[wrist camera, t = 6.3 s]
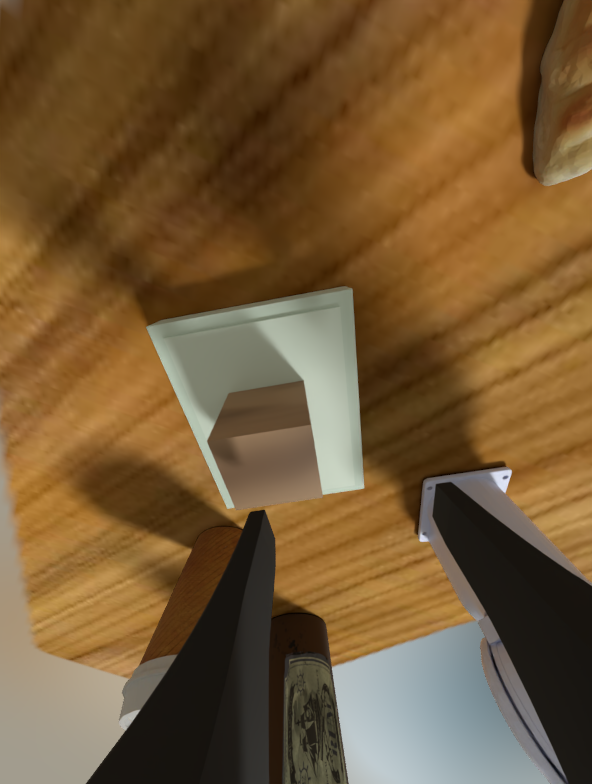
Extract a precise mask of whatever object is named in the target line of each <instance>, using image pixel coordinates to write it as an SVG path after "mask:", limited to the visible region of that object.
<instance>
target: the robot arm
mask: <svg viewBox="0 0 592 784" xmlns="http://www.w3.org/2000/svg"><path fill="white" fill-rule="evenodd" d="M511 473H512V470H511V469H510V468H508V467H500V468H494V469H487V470H480V471H473V472H466V473H460V474H453V475H446V476H439V477H433V478H427V479H425V480H424V481H423V488H422V499H421V509H420V519H419V530H418V539H419V541H421V542H425V541H429V542H430V544H431V546H432V548H433V550H434V552H435V554H436V555H437V557H438V559H439V561H440V563H441V565H442V567H443V569H444V571H445V573H446V575H447V577H448V579H449V581H450V583H451V584H452V586H453V588H454V590H455V592H456V594H457V596H458V598H459V600H460V601H461V603H462V605H463V606H464V607H465V609H466V610H467V611H468V612H469V613H470V614H471V615H472V616H473V617H474V618H475V619H476V620H477V621H478V624H479V626H480V628H481V630H482V632H483V633H484V635H485V638H483V639H482V641H481V645H480V649H481V655H482V656H481V658H482V665H483V670H484V673H485V677H486V679H487V682H488V685H489V687H490V690H491V692H492V694H493V697H494V699H495V701H496V703H497V705H498V707H499V709H500V711H501V713H502V715H503V717H504V718H505V720H506V722H507V724H508V726H509V727H510V729H511V731H512V732H513V734H514V736H515V737H516V739H517V740H518V742H519V743H520V745H521V746H522V748H523V750H524V751H525V752H526V754H527V755H528V757H529V758H530V759H531V761H532V762H533V763H534V764H535V766H536V767H537V768H538V769H539V770H540V772H541V773H542V774H543V775H544V776H545V777H546V779H547V780H548V782H549V783H550V784H592V583H591V582H590V581H589V580H588V579H587V578H586V577H585V576H584V575H583V574H582V573H581V572H580V571H579V570H578V569H577V568H576V567H575V566H574V565H573V564H572V563H571V562H570V560H569V559H568V558H567V557H566V556H565V555H564V554H563V553H562V552H561V551H560V550H559V549H558V548H557V547H556V546H555V545H554V544H553V543H552V542H551V541H550V540H549V539H548V538H547V537H546V535H545V534H544V533H543V532H542V531H541V530H540V529H539V528H538V527H537V526H536V525H535V524H534V523H533V522H532V521H531V520H530V519H529V518H528V517H527V516H526V515H525V514H524V513H523V512H522V510H521V509H520V508H519V507H518V506H517V505H516V504H515V503H514V502H513V501H512V500H511V499H510V498H509V497H508V496H507V495H506V494H505V492H506V489H507V486H508V483H509V480H510V477H511ZM275 567H276V561H275V537H274V534H273V531H272V529H271V526H270V523H269V520H268V518H267V515H266V512H265V510H260V511H254V512H250V513H249V515H248V518H247V521H246V523H245V526H244V528H243V531H242V533H241V536H240V538H239V540H238V543H237V545H236V547H235V549H234V552H233V554H232V556H231V558H230V560H229V562H228V565H227V567H226V569H225V571H224V573H223V575H222V577H221V579H220V581H219V583H218V585H217V587H216V589H215V591H214V593H213V595H212V596H211V598H210V600H209V602H208V604H207V606H206V608H205V609H204V611H203V613H202V615H201V617H200V618H199V620H198V622H197V623H196V625H195V627H194V629H193V630H192V632H191V634H190V635H189V637H188V639H187V640H186V642H185V643H184V645H183V647H182V648H181V650H180V651H179V653H178V655H177V656H176V658H175V659H174V661H173V663H172V664H171V666H170V667H169V669H168V670H167V672H166V673H165V675H164V676H163V678H162V679H161V681H160V682H159V684H158V685H157V687H156V688H155V689H154V691H153V692H152V694H151V695H150V697H149V698H148V700H147V701H146V702H145V704H144V705H143V707H142V708H141V710H140V711H139V713H138V714H137V715H136V717H135V718H134V720H133V721H132V723H131V724H130V725H129V727H128V728H127V730H126V731H125V732H124V734H123V735H122V736H121V738H120V739H119V740H118V742H117V743H116V744H115V746H114V747H113V748H112V750H111V751H110V752H109V754H108V755H107V756H106V758H105V759H104V760H103V762H102V763H101V764H100V766H99V767H98V768H97V770H96V771H95V772H94V774H93V775H92V776H91V778H90V779H89V780H88V782H87V783H86V784H269V643H270V628H271V616H272V604H273V592H274V580H275Z"/></svg>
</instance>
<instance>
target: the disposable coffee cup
mask: <svg viewBox="0 0 592 784" xmlns="http://www.w3.org/2000/svg"><path fill="white" fill-rule="evenodd" d="M242 531H243V530H240V529H237V528H233V527H214V528H211V529H208V530H206V531H204V532H203V533H201V534H200V536H199V537H198V539H197V541H196V543H195V545H194V547H193V549H192V552H191V554H190V556H189V558H188V560H187V562H186V565H185V567H184V569H183V571H182V573H181V576H180V578H179V580H178V582H177V584H176V586H175V589H174V591H173V593H172V595H171V597H170V599H169V602H168V604H167V606H166V608H165V610H164V612H163V615H162V617H161V619H160V621H159V623H158V626H157V628H156V630H155V632H154V634H153V636H152V639H151V641H150V643H149V645H148V647H147V650H146V652H145V654H144V656H143V658H142V660H141V663H140V665H139V666H138V667H137V668H136V669H135V670H134V673H133V675H132V677H131V679H129V680H128V681H127V682H126V684H125V686H124V688H123V691H122V694H123V696H124V701H123V706H122V710H121V714H120V719H119V724H120V726H121V727H122V728H123V729H124V730H127V728H128V727H129V725H130V724H131V723H132V721H133V720H134V718H135V717H136V715H137V714H138V713H139V711H140V710H141V708H142V707H143V705H144V704H145V702H146V701H147V700H148V698H149V697H150V695H151V694H152V692H153V691H154V689H155V688H156V687H157V685H158V684H159V682H160V681H161V679H162V678H163V676H164V675H165V673H166V672H167V670H168V669H169V667H170V666H171V664H172V663H173V661H174V659H175V658H176V656H177V655H178V653H179V651H180V650H181V648H182V647H183V645H184V643H185V642H186V640H187V639H188V637H189V635H190V634H191V632H192V630H193V629H194V627H195V625H196V623H197V622H198V620H199V618H200V617H201V615H202V613H203V611H204V609H205V608H206V606H207V604H208V602H209V600H210V598H211V596H212V595H213V593H214V591H215V589H216V587H217V585H218V583H219V581H220V579H221V577H222V575H223V573H224V571H225V569H226V567H227V565H228V562H229V560H230V558H231V556H232V554H233V552H234V549H235V547H236V545H237V543H238V540H239V538H240V536H241V533H242Z"/></svg>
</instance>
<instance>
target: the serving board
mask: <svg viewBox="0 0 592 784" xmlns="http://www.w3.org/2000/svg"><path fill="white" fill-rule="evenodd" d="M146 328H147V330H148V332H149V335H150V337H151V339H152V341H153V343H154V346H155V348H156V350H157V352H158V355H159V357H160V359H161V361H162V364H163V366H164V368H165V370H166V373H167V375H168V377H169V379H170V381H171V384H172V386H173V388H174V390H175V393H176V395H177V397H178V399H179V402H180V404H181V406H182V408H183V410H184V413H185V415H186V417H187V419H188V422H189V424H190V426H191V428H192V431H193V433H194V435H195V437H196V440H197V442H198V444H199V446H200V448H201V451H202V453H203V455H204V457H205V460H206V462H207V464H208V466H209V469H210V471H211V473H212V475H213V477H214V480H215V482H216V484H217V486H218V489H219V491H220V493H221V495H222V498H223V500H224V502H225V504H226V507H227V509H228V508H235V507H234V504H233V502H232V500H231V497H230V495H229V492H228V490H227V488H226V485H225V483H224V481H223V478H222V476H221V474H220V471H219V469H218V467H217V464H216V462H215V460H214V457H213V455H212V453H211V450H210V448H209V445H208V443H207V440H208V438H209V436H210V433H211V431H212V429H213V427H214V424H215V422H216V420H217V418H218V416H219V413H220V411H221V409H222V407H223V404H224V402H225V400H226V398H227V396H228V393H232V392H238V391H244V390H250V389H256V388H262V387H268V386H274V385H279V384H285V383H291V382H297V381H303V380H304V385H305V391H306V397H307V402H308V408H309V414H310V420H311V426H312V432H313V438H314V444H315V450H316V456H317V463H318V469H319V475H320V481H321V488H322V494H330V493H337V492H344V491H351V490H357V489H364V476H363V459H362V442H361V425H360V408H359V391H358V374H357V357H356V340H355V324H354V307H353V290H352V288H349V287H346V286H342V287H337V288H331V289H326V290H321V291H315V292H310V293H305V294H299V295H294V296H288V297H283V298H278V299H272V300H267V301H261V302H256V303H251V304H245V305H240V306H235V307H229V308H224V309H218V310H213V311H208V312H202V313H197V314H191V315H186V316H181V317H175V318H170V319H165V320H161V321H158V322H156V323H154V324H151V325H149V326H147V327H146Z"/></svg>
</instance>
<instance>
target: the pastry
mask: <svg viewBox="0 0 592 784" xmlns="http://www.w3.org/2000/svg"><path fill="white" fill-rule="evenodd" d="M540 73H541V75H542V81H541V86H540V90H539V95H538V108H537V115H536V122H535V126H534V140H533V164H534V173H535V176H536V178H537V180H538V181H539V183H541V184H543V185H545V186H550V185H554V184H557V183H560V182H563V181H566V180H569V179H572V178H574V177H577V176H580V175H582V174H585V173H586V172H588V171H589V170H591V169H592V0H564V1H563V3H562V6H561V8H560V11H559V14H558V18H557V21H556V24H555V28H554V31H553V33H552V36H551V38H550V40H549V42H548V44H547V46H546V49H545V51H544V54H543V57H542V60H541V64H540Z"/></svg>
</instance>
